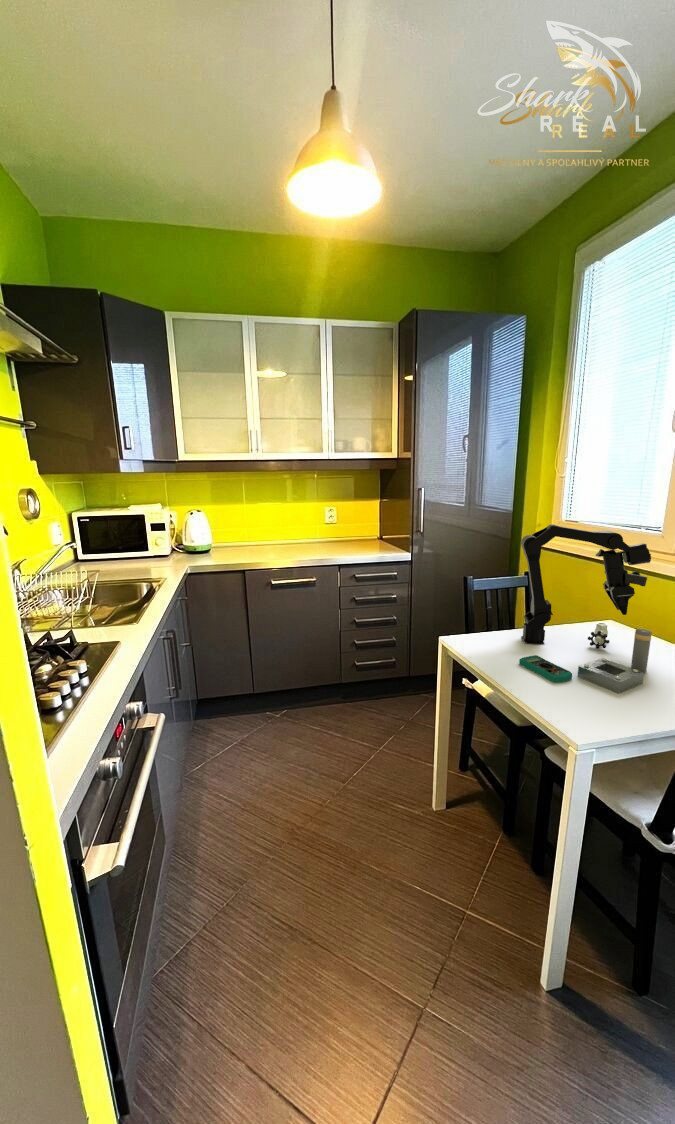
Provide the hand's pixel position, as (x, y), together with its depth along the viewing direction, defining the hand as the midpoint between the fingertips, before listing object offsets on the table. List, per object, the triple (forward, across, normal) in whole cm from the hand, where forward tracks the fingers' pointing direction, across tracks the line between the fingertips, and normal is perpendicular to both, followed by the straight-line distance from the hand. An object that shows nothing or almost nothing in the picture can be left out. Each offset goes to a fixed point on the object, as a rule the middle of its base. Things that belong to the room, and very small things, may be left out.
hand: (621, 612), depth 145 cm
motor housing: (+15, -26, +10) cm, 31 cm away
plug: (+16, -15, 0) cm, 22 cm away
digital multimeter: (+12, -27, +27) cm, 40 cm away
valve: (+12, +6, +8) cm, 16 cm away
